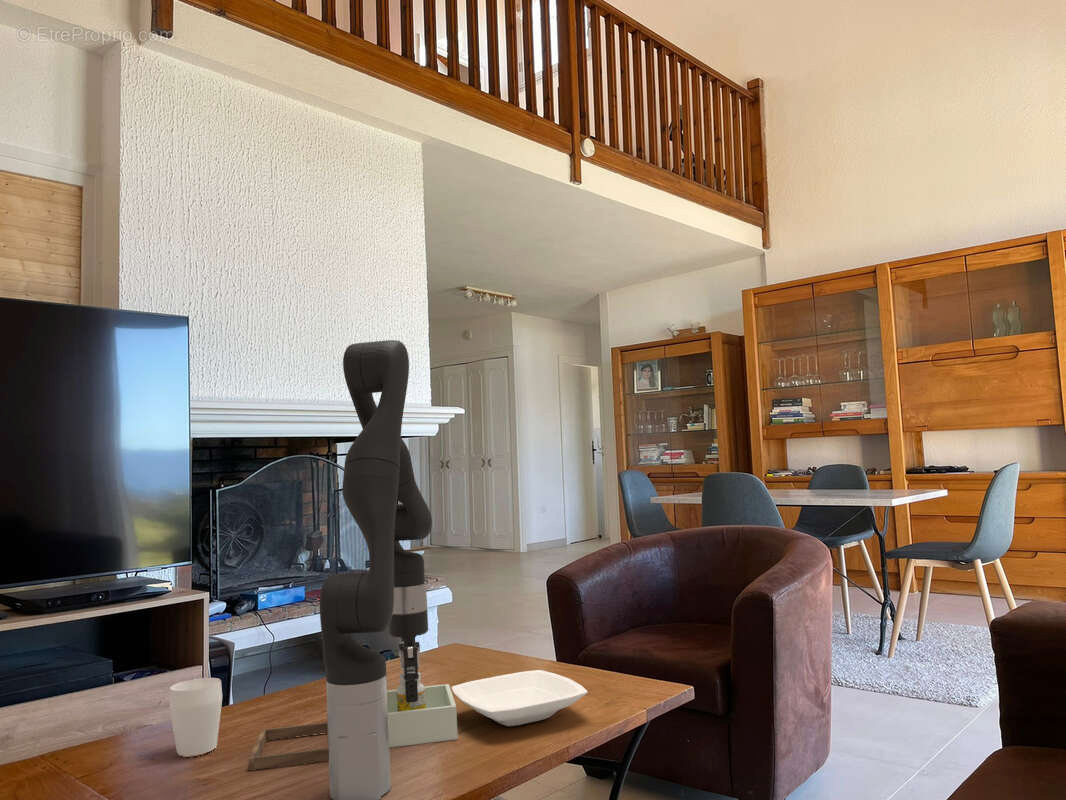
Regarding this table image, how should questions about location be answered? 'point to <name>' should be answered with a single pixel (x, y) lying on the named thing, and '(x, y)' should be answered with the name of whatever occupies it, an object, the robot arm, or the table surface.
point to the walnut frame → (289, 757)
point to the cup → (196, 715)
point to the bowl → (520, 696)
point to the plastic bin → (423, 718)
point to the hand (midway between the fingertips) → (411, 695)
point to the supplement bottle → (401, 696)
